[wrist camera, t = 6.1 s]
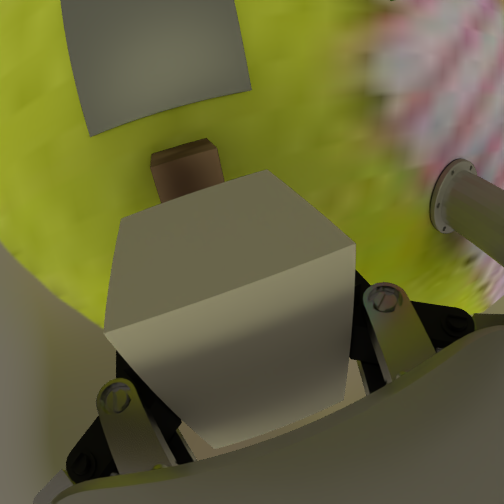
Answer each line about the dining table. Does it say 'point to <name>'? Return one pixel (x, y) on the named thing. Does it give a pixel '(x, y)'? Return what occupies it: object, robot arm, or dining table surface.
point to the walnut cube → (186, 169)
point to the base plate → (151, 56)
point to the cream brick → (235, 306)
